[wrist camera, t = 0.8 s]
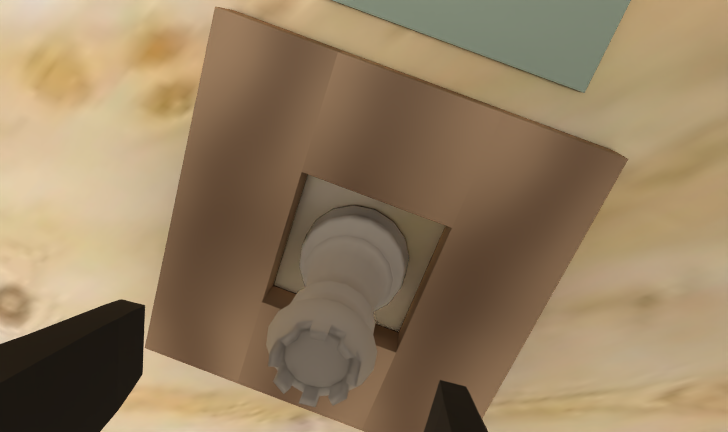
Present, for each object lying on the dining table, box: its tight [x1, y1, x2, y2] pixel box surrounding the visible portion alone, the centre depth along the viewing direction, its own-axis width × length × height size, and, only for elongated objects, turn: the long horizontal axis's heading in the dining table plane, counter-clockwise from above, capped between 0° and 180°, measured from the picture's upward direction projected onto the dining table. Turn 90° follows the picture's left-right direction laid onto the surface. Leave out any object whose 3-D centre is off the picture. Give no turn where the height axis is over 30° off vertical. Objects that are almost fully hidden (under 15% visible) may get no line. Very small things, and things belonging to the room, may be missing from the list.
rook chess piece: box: [266, 205, 409, 407], centre depth 17 cm, size 4×4×8 cm
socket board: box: [145, 7, 628, 432], centre depth 20 cm, size 15×15×2 cm
